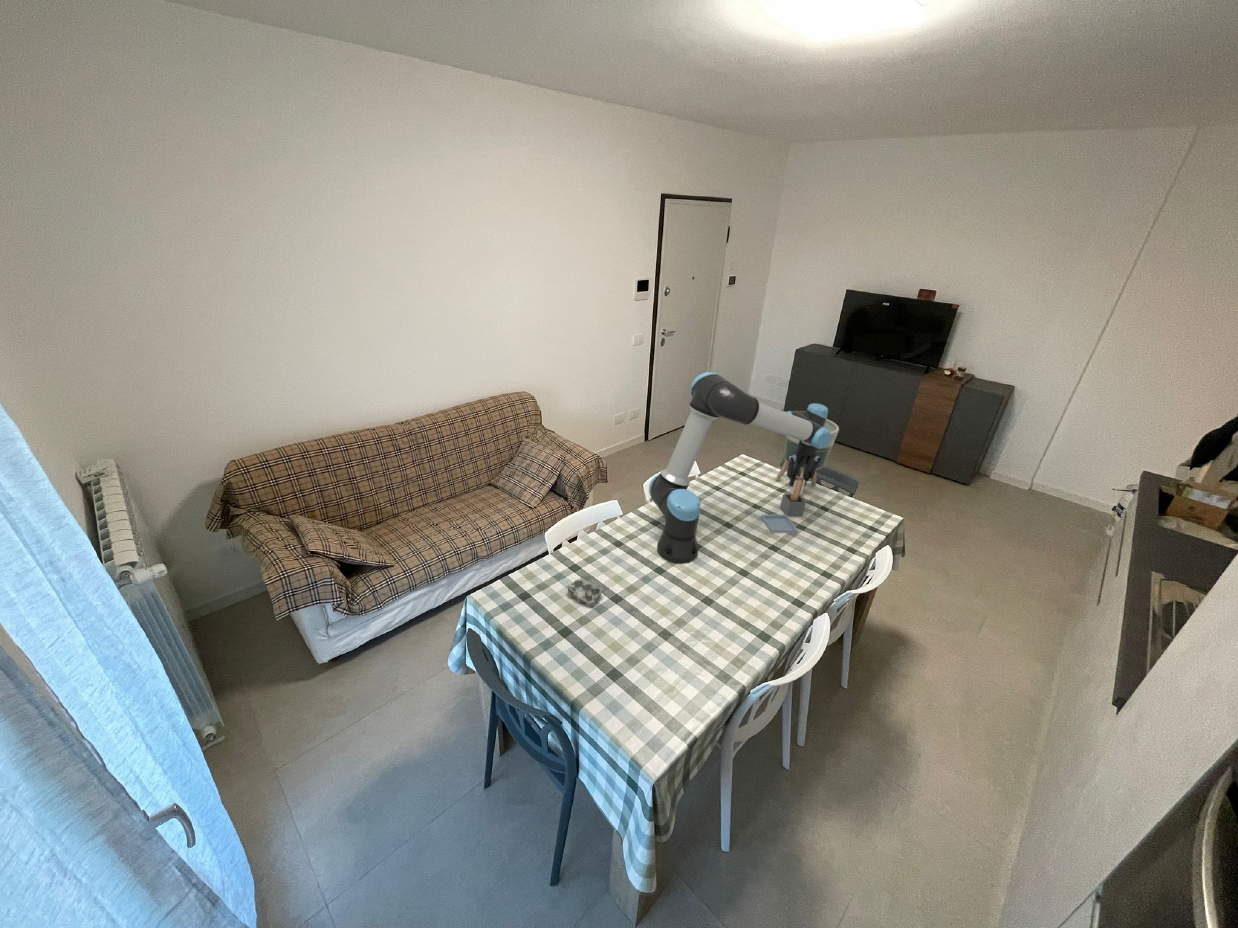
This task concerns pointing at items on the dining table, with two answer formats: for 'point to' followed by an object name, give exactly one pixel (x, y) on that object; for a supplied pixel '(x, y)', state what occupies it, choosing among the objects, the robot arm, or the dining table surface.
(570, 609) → the dining table surface
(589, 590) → the egg carton
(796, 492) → the dowel
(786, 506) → the pen pot
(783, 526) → the tray
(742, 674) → the dining table surface
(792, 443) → the planter
